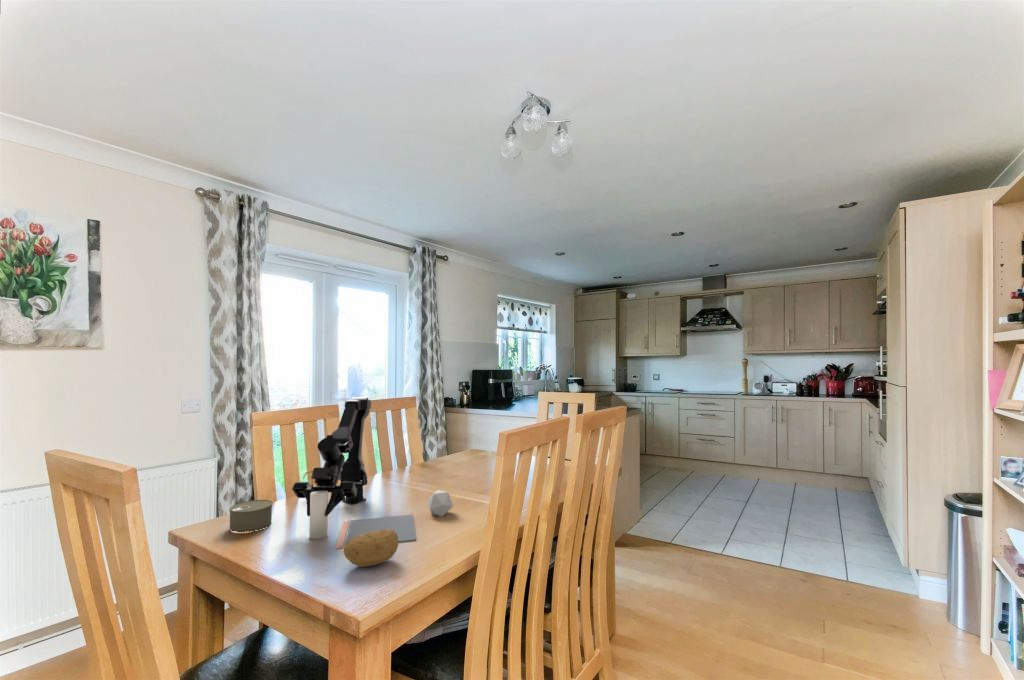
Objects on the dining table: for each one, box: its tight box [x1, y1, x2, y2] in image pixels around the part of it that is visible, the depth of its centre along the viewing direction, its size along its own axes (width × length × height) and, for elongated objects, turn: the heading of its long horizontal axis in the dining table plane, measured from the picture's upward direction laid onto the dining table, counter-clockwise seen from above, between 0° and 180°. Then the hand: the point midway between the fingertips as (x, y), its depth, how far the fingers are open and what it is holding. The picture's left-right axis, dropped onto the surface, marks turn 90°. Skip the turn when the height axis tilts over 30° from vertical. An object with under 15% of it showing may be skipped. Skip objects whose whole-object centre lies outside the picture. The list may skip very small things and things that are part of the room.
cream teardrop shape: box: [309, 490, 329, 540], centre depth 136 cm, size 5×5×13 cm
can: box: [229, 499, 273, 532], centre depth 144 cm, size 12×12×7 cm
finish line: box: [335, 520, 350, 550], centre depth 137 cm, size 22×2×1 cm, turn 15°
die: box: [426, 489, 454, 518], centre depth 155 cm, size 8×9×10 cm
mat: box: [344, 514, 418, 546], centre depth 140 cm, size 20×22×1 cm
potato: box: [342, 529, 399, 568], centre depth 117 cm, size 10×14×8 cm
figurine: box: [302, 465, 317, 486], centre depth 176 cm, size 8×6×12 cm
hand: (316, 515), depth 135 cm, fingers closed on cream teardrop shape, 5 cm apart
